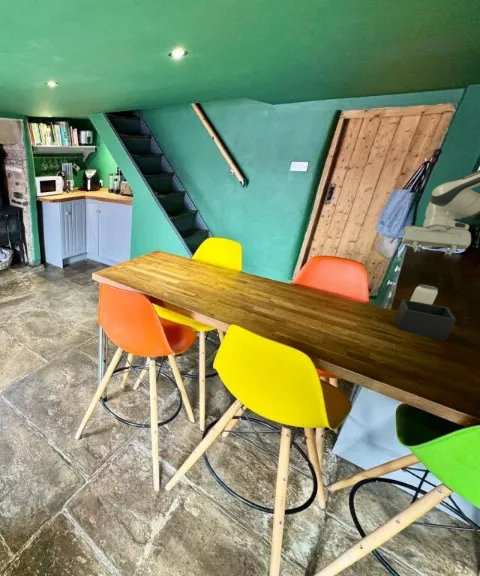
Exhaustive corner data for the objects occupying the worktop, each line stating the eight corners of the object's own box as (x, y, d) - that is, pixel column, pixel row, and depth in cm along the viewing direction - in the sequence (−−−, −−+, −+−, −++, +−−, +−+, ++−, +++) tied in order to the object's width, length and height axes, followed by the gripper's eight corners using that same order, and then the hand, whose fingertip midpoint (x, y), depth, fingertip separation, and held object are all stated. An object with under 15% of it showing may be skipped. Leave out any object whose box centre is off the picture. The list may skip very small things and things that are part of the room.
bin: (438, 327, 117) (448, 307, 114) (445, 341, 108) (456, 319, 104) (394, 318, 124) (402, 299, 121) (397, 330, 115) (405, 310, 112)
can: (423, 312, 129) (435, 286, 125) (429, 317, 124) (442, 291, 120) (403, 308, 132) (414, 283, 128) (408, 313, 127) (420, 287, 123)
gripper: (407, 220, 137) (401, 245, 133) (475, 225, 125) (470, 253, 121) (402, 229, 142) (396, 253, 138) (467, 234, 130) (463, 261, 126)
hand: (431, 253), depth 130 cm, fingers open, 8 cm apart
